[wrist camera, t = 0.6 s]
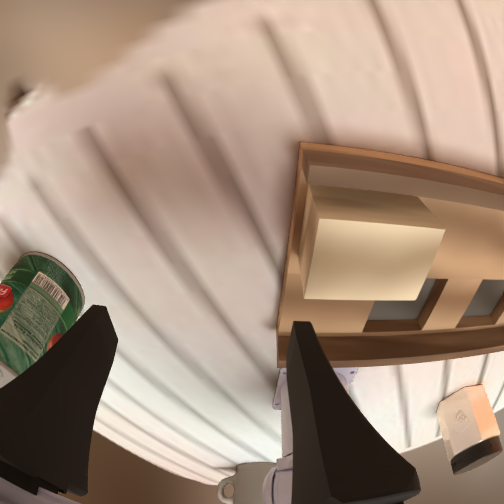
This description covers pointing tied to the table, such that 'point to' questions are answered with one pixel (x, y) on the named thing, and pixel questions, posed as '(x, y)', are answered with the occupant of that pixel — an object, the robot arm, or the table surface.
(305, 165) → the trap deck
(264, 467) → the coffee mug
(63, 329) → the canned tomato
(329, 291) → the maple block
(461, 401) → the jar
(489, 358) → the table surface
